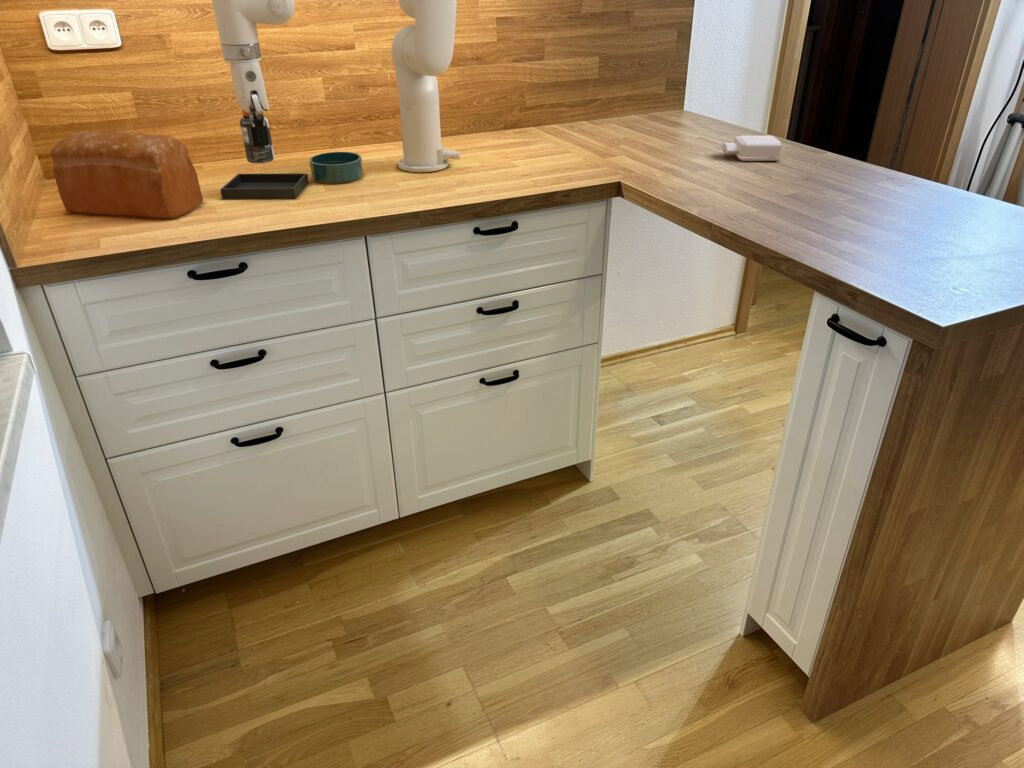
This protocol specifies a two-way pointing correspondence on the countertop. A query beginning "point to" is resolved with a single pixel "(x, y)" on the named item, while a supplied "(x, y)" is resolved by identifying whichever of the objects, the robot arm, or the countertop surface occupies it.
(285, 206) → the countertop surface
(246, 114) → the pill bottle
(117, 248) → the countertop surface
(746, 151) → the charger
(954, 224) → the countertop surface
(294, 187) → the tray
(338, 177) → the bowl
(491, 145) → the countertop surface
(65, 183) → the bread
